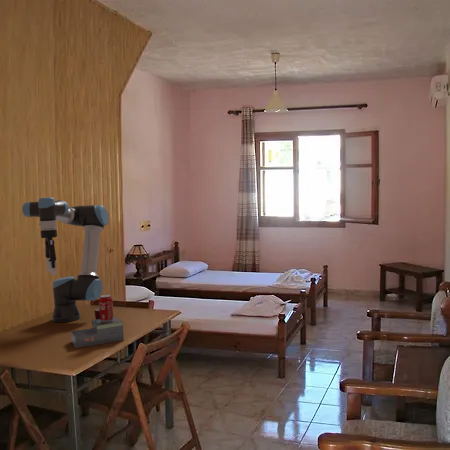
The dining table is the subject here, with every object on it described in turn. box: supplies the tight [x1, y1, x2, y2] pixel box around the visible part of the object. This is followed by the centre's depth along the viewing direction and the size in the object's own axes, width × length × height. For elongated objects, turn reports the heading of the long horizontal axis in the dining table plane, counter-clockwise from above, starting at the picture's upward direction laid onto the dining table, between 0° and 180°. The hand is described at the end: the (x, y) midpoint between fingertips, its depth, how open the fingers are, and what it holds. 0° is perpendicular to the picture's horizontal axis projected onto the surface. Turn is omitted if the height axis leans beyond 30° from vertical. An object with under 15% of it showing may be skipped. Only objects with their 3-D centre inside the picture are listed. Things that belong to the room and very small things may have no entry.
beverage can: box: [98, 294, 115, 322], centre depth 262 cm, size 6×6×12 cm
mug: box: [94, 307, 100, 319], centre depth 282 cm, size 11×8×10 cm
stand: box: [70, 316, 125, 349], centre depth 260 cm, size 13×22×12 cm, turn 115°
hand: (51, 272), depth 270 cm, fingers open, 13 cm apart
